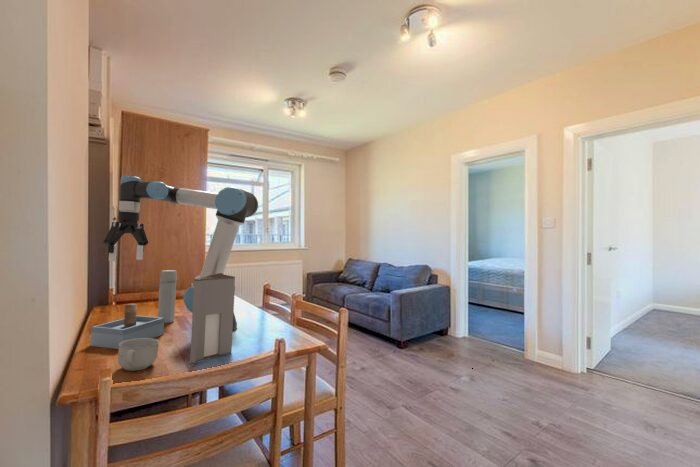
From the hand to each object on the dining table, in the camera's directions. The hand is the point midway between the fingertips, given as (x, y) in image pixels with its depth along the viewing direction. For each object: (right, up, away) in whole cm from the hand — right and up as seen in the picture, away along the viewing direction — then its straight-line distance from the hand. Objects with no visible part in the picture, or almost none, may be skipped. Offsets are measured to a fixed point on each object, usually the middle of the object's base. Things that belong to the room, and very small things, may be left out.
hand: (126, 260), depth 140 cm
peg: (+9, -31, -11) cm, 34 cm away
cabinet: (+50, -32, -24) cm, 64 cm away
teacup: (+30, -31, -39) cm, 59 cm away
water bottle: (+8, -32, +18) cm, 37 cm away
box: (+9, -31, -12) cm, 34 cm away
